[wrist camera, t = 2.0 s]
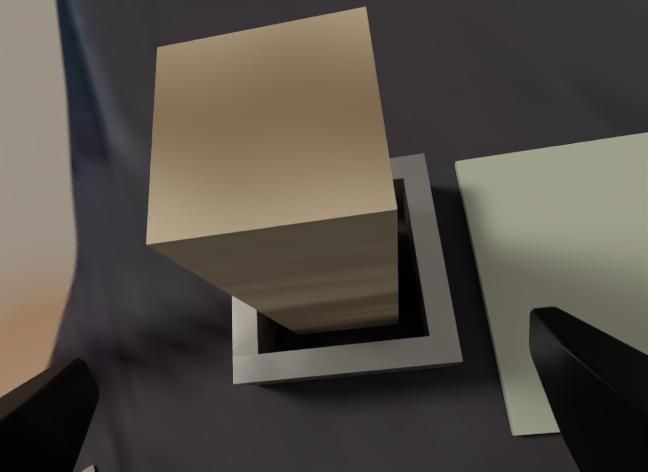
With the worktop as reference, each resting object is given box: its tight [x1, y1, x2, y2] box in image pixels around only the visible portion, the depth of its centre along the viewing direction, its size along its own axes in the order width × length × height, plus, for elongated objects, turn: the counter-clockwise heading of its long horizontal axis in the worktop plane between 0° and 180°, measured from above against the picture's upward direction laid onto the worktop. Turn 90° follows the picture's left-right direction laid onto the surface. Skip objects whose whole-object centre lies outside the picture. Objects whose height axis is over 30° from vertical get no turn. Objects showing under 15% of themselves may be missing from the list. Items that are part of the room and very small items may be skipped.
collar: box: [232, 153, 463, 386], centre depth 19 cm, size 8×8×3 cm
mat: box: [455, 133, 648, 436], centre depth 19 cm, size 12×12×1 cm
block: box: [146, 7, 398, 335], centre depth 15 cm, size 4×4×13 cm
